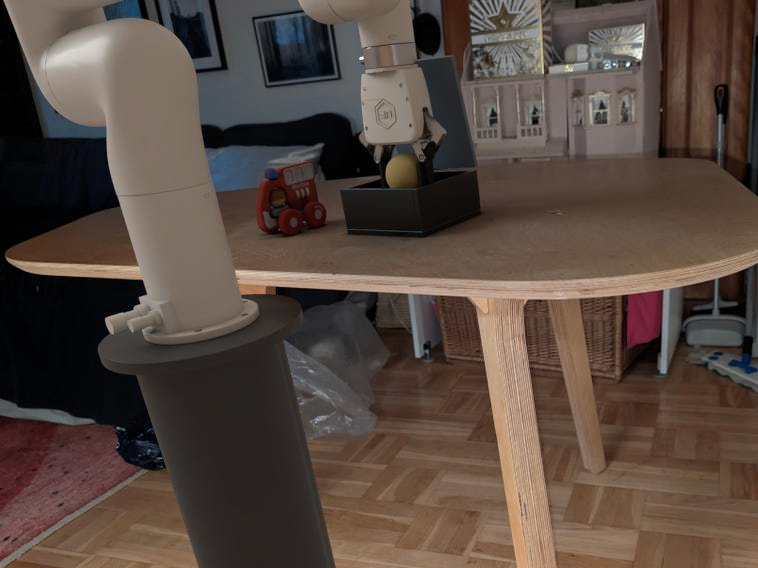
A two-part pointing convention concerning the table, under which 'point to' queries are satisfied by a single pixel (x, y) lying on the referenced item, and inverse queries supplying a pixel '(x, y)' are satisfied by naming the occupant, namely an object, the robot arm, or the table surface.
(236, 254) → the table surface
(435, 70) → the lid
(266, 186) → the toy fire truck
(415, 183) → the light bulb
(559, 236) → the table surface
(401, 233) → the compartment
